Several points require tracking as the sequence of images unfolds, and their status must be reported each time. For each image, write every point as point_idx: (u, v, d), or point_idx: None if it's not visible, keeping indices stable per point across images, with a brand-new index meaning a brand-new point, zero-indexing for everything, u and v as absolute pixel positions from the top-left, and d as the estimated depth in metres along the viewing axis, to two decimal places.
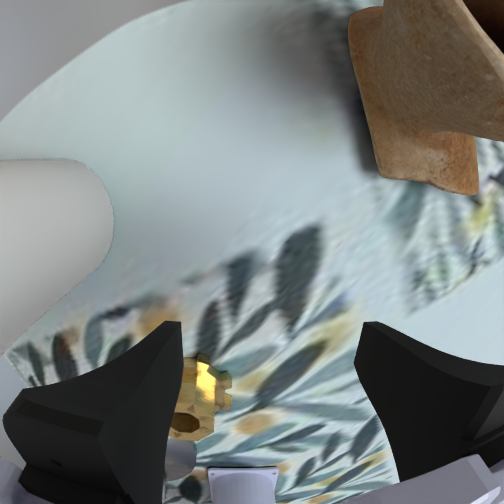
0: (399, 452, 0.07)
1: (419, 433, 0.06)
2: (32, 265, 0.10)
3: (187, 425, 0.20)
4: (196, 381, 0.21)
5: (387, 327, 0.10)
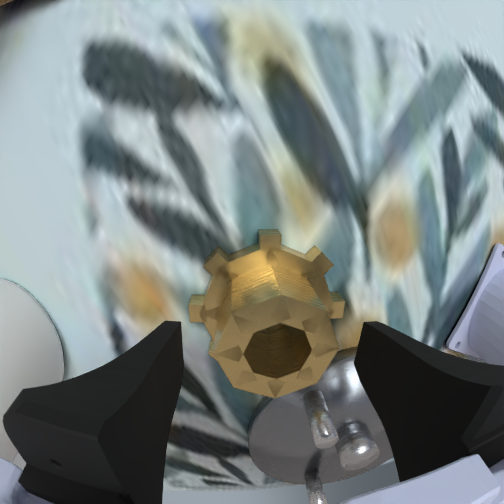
0: (399, 452, 0.07)
1: (419, 433, 0.06)
2: None
3: (303, 347, 0.12)
4: (232, 286, 0.13)
5: (387, 327, 0.10)
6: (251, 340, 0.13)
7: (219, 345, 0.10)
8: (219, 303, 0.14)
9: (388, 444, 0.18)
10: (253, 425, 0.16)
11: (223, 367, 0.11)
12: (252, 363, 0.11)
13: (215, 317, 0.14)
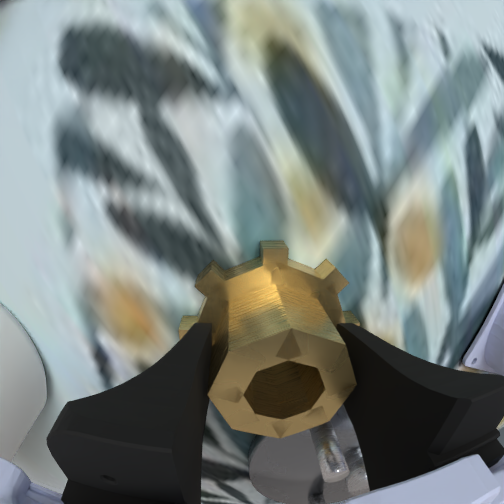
0: (369, 460, 0.07)
1: (387, 442, 0.06)
2: None
3: (313, 382, 0.09)
4: (230, 310, 0.10)
5: (360, 329, 0.10)
6: None
7: (214, 385, 0.08)
8: (214, 328, 0.11)
9: None
10: (254, 452, 0.14)
11: (219, 408, 0.09)
12: (254, 401, 0.09)
13: None
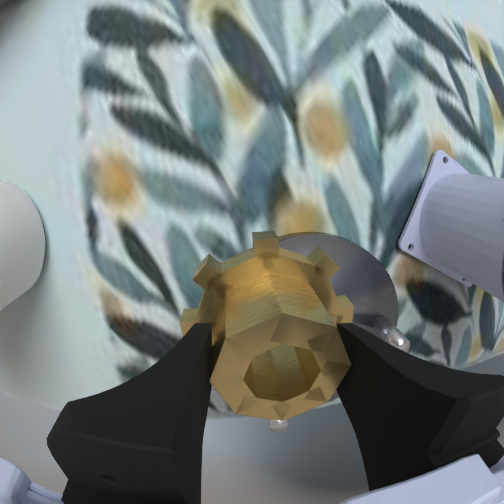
0: (369, 460, 0.07)
1: (387, 442, 0.06)
2: None
3: (310, 364, 0.10)
4: (227, 301, 0.11)
5: (360, 329, 0.10)
6: (252, 357, 0.12)
7: (215, 372, 0.09)
8: (214, 318, 0.12)
9: None
10: None
11: (222, 394, 0.09)
12: (254, 386, 0.10)
13: None
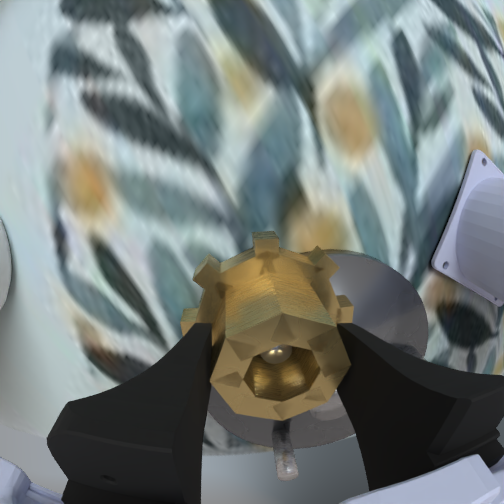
0: (369, 460, 0.07)
1: (387, 442, 0.06)
2: None
3: (310, 364, 0.10)
4: (227, 300, 0.11)
5: (360, 329, 0.10)
6: (252, 357, 0.12)
7: (215, 372, 0.09)
8: (214, 318, 0.12)
9: None
10: None
11: (222, 394, 0.09)
12: (254, 386, 0.10)
13: None
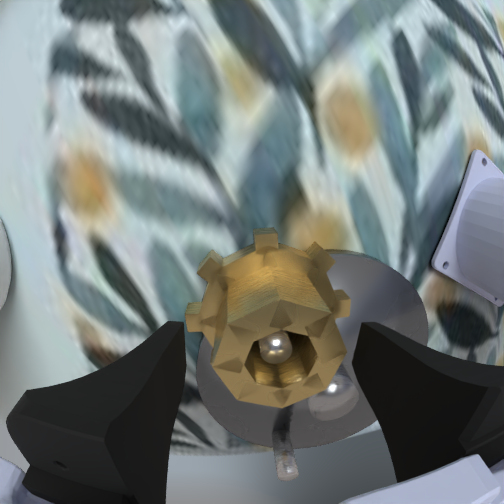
0: (396, 453, 0.07)
1: (416, 434, 0.06)
2: None
3: (308, 352, 0.11)
4: (229, 292, 0.12)
5: (385, 327, 0.10)
6: (253, 347, 0.12)
7: (217, 357, 0.10)
8: (217, 310, 0.13)
9: None
10: (199, 349, 0.15)
11: (224, 380, 0.10)
12: (255, 373, 0.11)
13: (214, 325, 0.13)
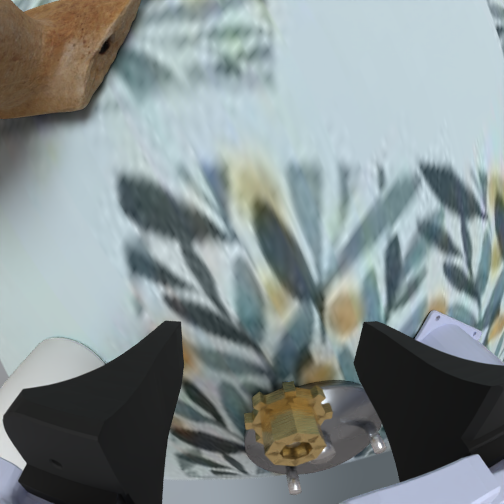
0: (399, 452, 0.07)
1: (419, 433, 0.06)
2: None
3: (308, 443, 0.20)
4: (270, 417, 0.21)
5: (387, 327, 0.10)
6: None
7: (267, 451, 0.19)
8: (262, 421, 0.22)
9: (347, 447, 0.26)
10: (247, 431, 0.24)
11: (269, 458, 0.19)
12: (283, 453, 0.20)
13: (260, 426, 0.22)
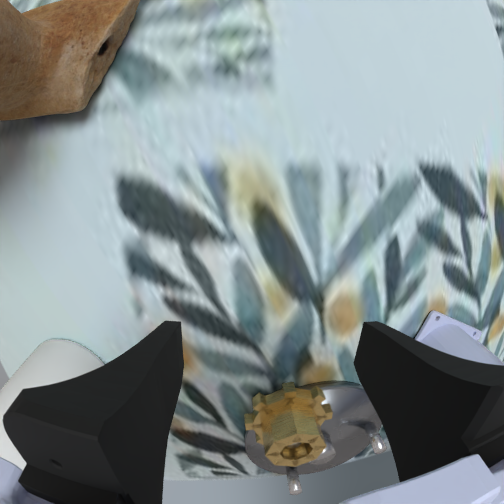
0: (399, 452, 0.07)
1: (419, 433, 0.06)
2: None
3: (308, 444, 0.20)
4: (270, 418, 0.21)
5: (387, 327, 0.10)
6: None
7: (268, 452, 0.19)
8: (262, 421, 0.22)
9: (347, 447, 0.26)
10: (248, 431, 0.24)
11: (269, 459, 0.19)
12: (283, 453, 0.20)
13: (260, 427, 0.22)
